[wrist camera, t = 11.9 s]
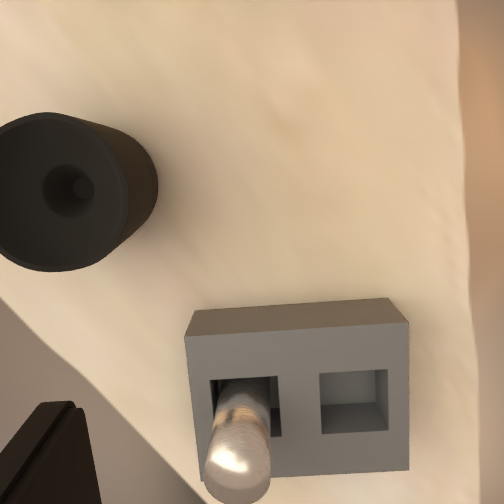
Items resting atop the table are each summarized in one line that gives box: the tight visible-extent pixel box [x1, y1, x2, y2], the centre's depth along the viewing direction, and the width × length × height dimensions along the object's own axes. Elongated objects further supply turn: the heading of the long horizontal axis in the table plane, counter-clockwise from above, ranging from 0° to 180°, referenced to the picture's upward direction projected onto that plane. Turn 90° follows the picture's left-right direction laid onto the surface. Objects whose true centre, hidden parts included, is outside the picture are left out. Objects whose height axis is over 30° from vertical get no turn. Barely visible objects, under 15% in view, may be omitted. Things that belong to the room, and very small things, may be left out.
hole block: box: [184, 298, 409, 482], centre depth 37 cm, size 12×16×6 cm
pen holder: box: [0, 112, 158, 272], centre depth 32 cm, size 9×9×10 cm
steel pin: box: [203, 376, 270, 504], centre depth 33 cm, size 4×4×11 cm
